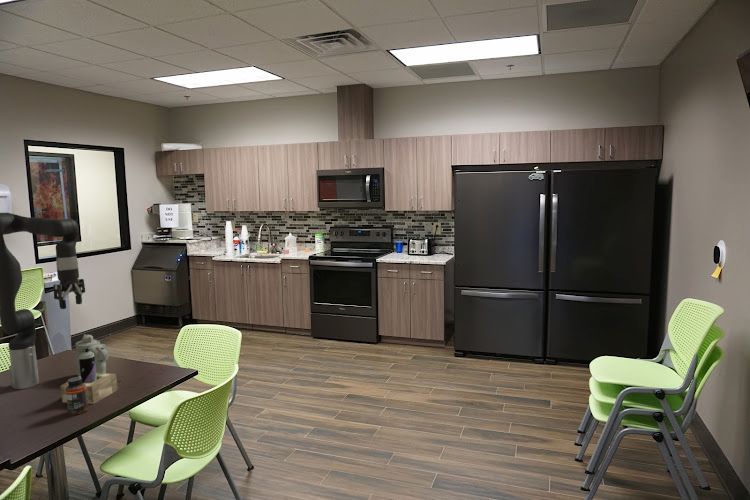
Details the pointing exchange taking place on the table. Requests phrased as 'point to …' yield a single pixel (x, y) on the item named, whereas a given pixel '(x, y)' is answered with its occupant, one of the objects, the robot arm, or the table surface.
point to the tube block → (96, 388)
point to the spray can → (87, 366)
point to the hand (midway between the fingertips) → (71, 306)
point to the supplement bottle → (76, 396)
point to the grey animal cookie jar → (95, 347)
